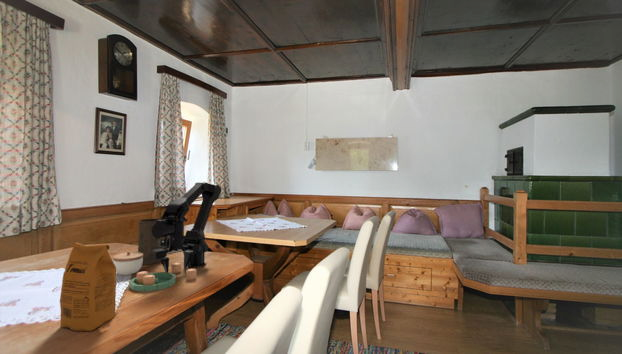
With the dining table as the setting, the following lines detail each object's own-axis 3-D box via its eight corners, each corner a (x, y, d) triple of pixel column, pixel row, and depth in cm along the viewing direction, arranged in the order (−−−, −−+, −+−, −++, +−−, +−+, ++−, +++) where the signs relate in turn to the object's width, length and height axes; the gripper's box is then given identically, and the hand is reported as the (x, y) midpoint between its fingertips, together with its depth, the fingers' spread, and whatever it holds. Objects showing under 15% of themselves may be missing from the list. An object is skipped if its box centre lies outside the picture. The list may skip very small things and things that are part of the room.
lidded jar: (129, 279, 119) (129, 255, 119) (106, 277, 121) (106, 253, 121) (149, 271, 130) (149, 248, 130) (127, 269, 132) (127, 247, 132)
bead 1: (145, 281, 115) (145, 270, 115) (149, 283, 113) (149, 272, 113) (135, 283, 112) (135, 273, 112) (139, 286, 110) (139, 275, 110)
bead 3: (178, 271, 129) (178, 262, 129) (182, 273, 127) (182, 264, 127) (169, 273, 126) (169, 264, 126) (173, 275, 124) (174, 266, 124)
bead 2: (151, 285, 111) (152, 274, 111) (156, 287, 109) (156, 276, 109) (141, 287, 109) (141, 276, 109) (145, 290, 106) (145, 278, 106)
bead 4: (193, 278, 122) (193, 268, 121) (197, 280, 119) (198, 270, 119) (184, 280, 119) (184, 270, 119) (189, 282, 116) (189, 272, 116)
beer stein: (149, 265, 136) (152, 220, 138) (130, 263, 139) (133, 219, 141) (173, 259, 151) (176, 218, 152) (156, 257, 154) (158, 217, 155)
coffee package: (88, 312, 91) (88, 238, 91) (121, 317, 88) (122, 241, 88) (52, 328, 82) (52, 246, 81) (88, 335, 78) (88, 249, 78)
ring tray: (164, 276, 123) (164, 269, 123) (183, 285, 114) (183, 278, 114) (123, 286, 112) (123, 279, 112) (140, 297, 102) (140, 289, 102)
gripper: (187, 228, 139) (187, 262, 139) (144, 234, 124) (144, 272, 125) (201, 231, 132) (200, 267, 132) (156, 238, 117) (156, 278, 117)
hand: (176, 271), depth 127 cm, fingers open, 7 cm apart
